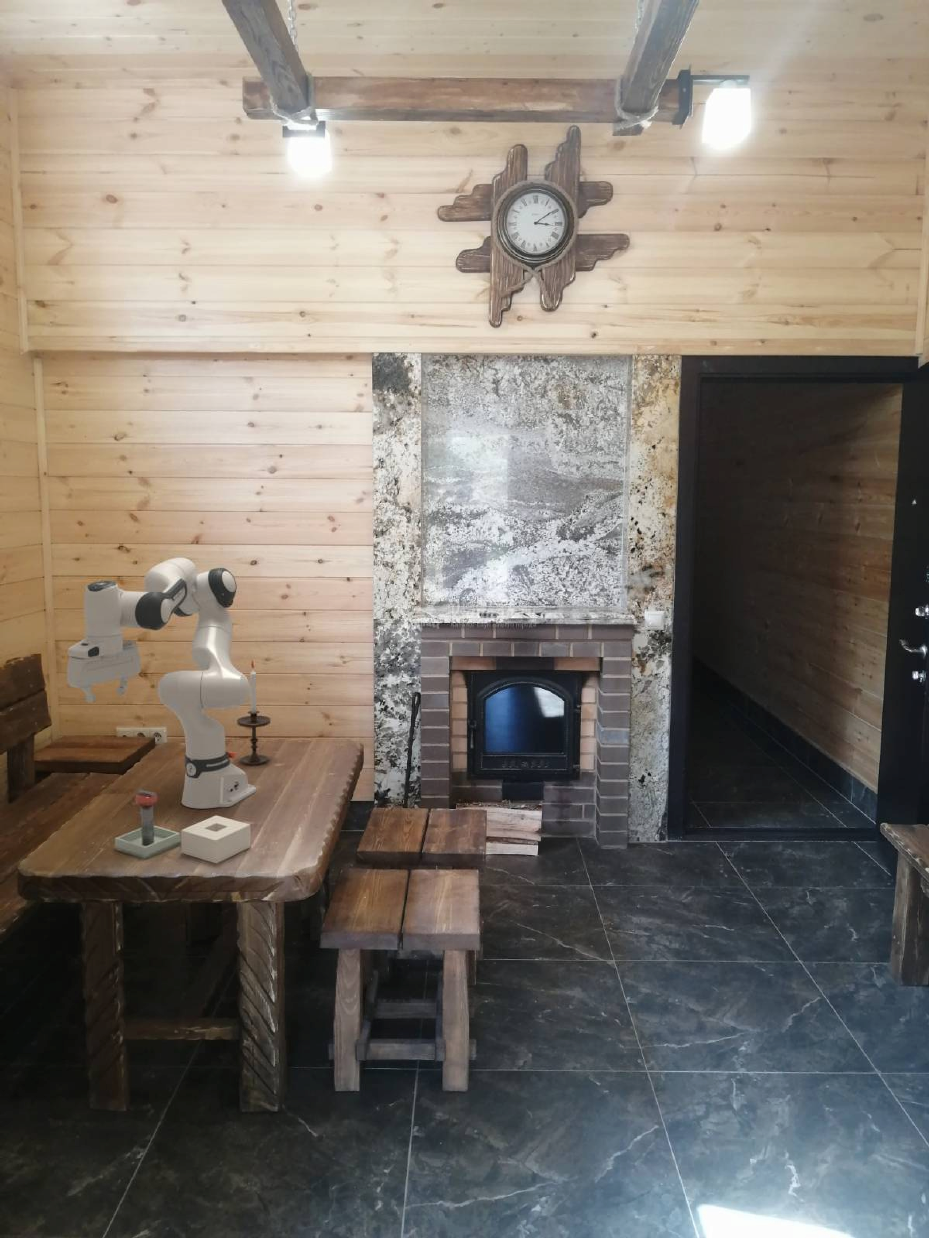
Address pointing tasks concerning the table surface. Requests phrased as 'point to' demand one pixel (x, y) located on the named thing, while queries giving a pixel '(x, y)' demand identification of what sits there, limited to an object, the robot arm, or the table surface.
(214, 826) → the block
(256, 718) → the candlestick
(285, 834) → the table surface
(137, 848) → the tray
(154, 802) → the red disc rod
